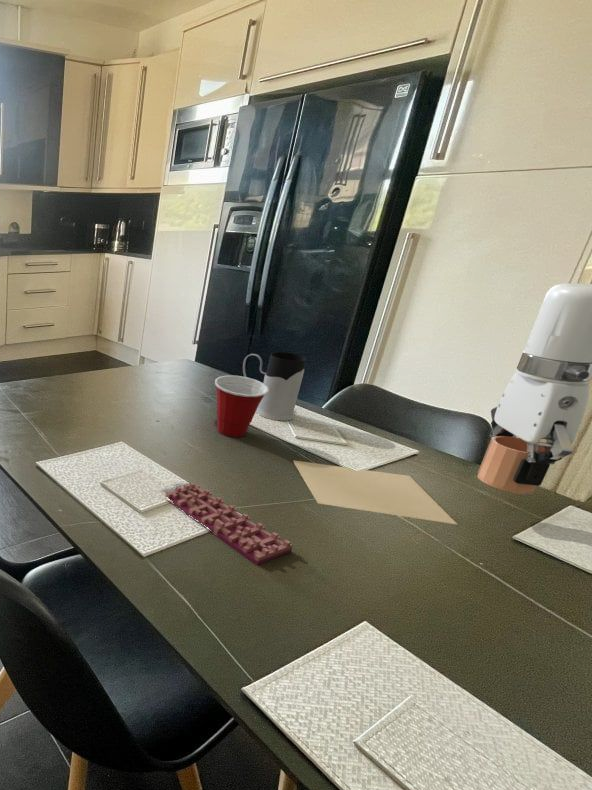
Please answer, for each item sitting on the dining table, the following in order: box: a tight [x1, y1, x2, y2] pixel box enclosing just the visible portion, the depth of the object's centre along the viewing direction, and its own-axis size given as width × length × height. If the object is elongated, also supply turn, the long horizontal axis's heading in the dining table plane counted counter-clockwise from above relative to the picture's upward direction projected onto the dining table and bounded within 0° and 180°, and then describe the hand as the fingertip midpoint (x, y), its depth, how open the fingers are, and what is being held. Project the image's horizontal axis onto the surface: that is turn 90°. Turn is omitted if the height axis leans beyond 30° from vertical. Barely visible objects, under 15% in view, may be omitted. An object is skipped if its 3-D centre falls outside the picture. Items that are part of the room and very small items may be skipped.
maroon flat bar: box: [165, 482, 294, 566], centre depth 78 cm, size 7×19×2 cm, turn 24°
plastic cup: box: [214, 375, 269, 438], centre depth 109 cm, size 11×11×12 cm
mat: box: [292, 460, 458, 525], centre depth 87 cm, size 20×20×1 cm
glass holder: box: [242, 351, 307, 422], centre depth 121 cm, size 9×14×15 cm, turn 39°
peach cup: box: [476, 436, 545, 495], centre depth 79 cm, size 7×7×7 cm
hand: (510, 471), depth 79 cm, fingers closed on peach cup, 6 cm apart
